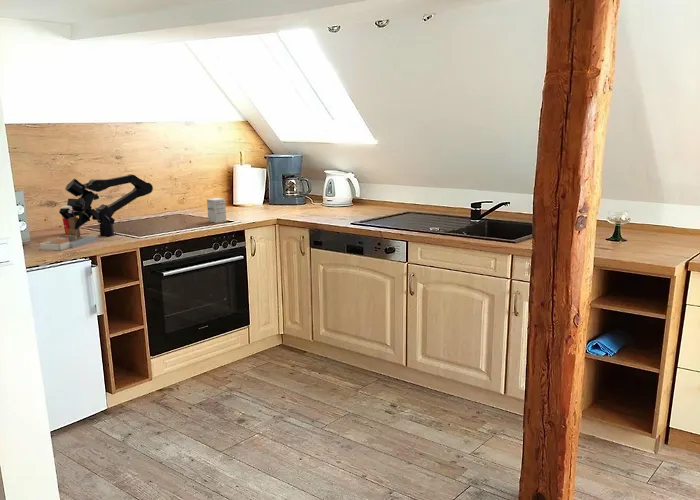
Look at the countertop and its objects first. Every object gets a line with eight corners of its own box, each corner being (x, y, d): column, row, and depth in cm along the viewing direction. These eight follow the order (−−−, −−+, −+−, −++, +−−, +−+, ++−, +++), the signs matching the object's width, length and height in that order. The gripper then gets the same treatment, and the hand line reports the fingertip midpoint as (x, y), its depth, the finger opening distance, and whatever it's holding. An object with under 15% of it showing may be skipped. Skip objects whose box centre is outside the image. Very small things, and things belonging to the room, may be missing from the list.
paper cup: (67, 232, 321) (64, 205, 318) (82, 232, 321) (78, 205, 318) (60, 235, 313) (56, 207, 310) (75, 234, 313) (71, 207, 310)
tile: (62, 241, 287) (61, 237, 286) (69, 241, 286) (68, 237, 285) (56, 243, 283) (55, 238, 283) (63, 243, 282) (62, 239, 282)
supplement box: (207, 221, 342) (206, 199, 340) (219, 219, 348) (217, 197, 345) (215, 223, 337) (214, 200, 335) (226, 221, 343) (225, 198, 340)
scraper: (70, 237, 295) (67, 217, 293) (86, 238, 293) (83, 217, 291) (59, 240, 289) (56, 219, 286) (75, 241, 286) (73, 220, 284)
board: (72, 239, 301) (71, 235, 300) (97, 240, 297) (96, 236, 296) (47, 247, 285) (46, 242, 284) (72, 248, 281) (72, 243, 280)
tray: (49, 247, 284) (49, 240, 284) (70, 248, 281) (69, 241, 281) (39, 250, 278) (38, 243, 277) (60, 251, 275) (59, 244, 275)
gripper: (59, 191, 294) (45, 218, 286) (92, 191, 289) (79, 219, 281) (72, 205, 303) (59, 231, 295) (105, 206, 298) (92, 232, 290)
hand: (72, 228), depth 290 cm, fingers closed on scraper, 3 cm apart
